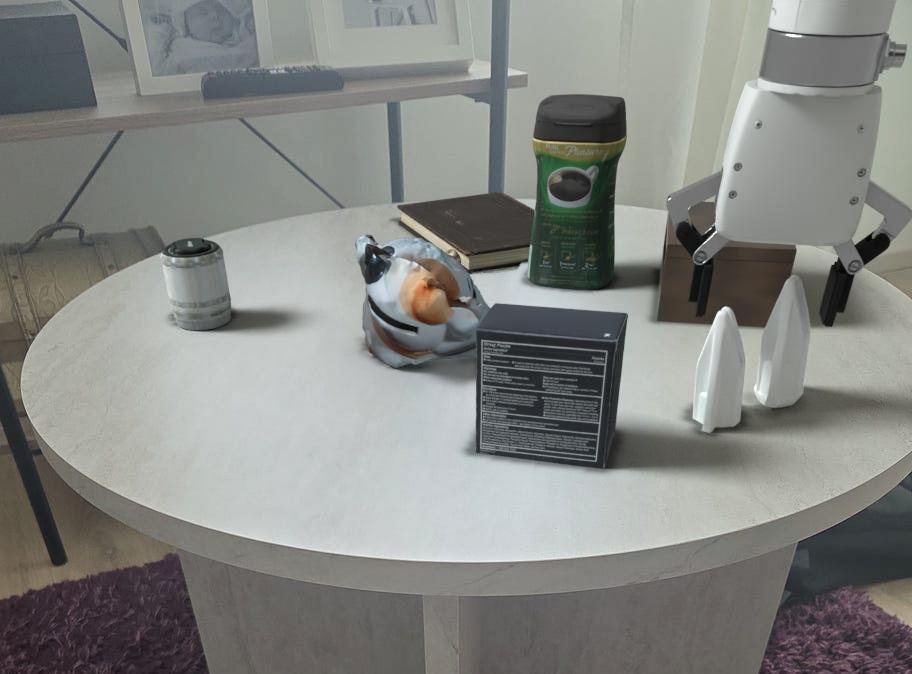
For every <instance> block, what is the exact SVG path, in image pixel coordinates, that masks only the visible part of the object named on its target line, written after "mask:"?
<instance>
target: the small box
mask: <svg viewBox="0 0 912 674" xmlns="http://www.w3.org/2000/svg"><path fill="white" fill-rule="evenodd" d="M490 308H491V309H490V310H489V311H488V313H487V314H486V315H485V317H484V318H483V320H482V321H481V322H480V324H479V325H478V327H477V328H476V343H477V345H476V354H477V356H476V361H475V363H476V364H475V365H476V366H475V369H476V372H475V445H474V453H475V454H481V455H488V456H496V457H503V458H513V459H519V460H528V461H534V462H535V461H536V462H543V463H550V464H551V463H553V464H559V465H567V466H576V467H585V468H593V469H601V470H603V469H606V468H608V459H609V457H610V452H611V450H612V446H613V443H614V440H615V436H616V428H617V427H616V426H617V418H618V407H619V399H620V391H621V390H620V388H621V381H622V372H623V363H624V362H623V361H624V353H625V343H626V335H627V326H628V319H629V314H628V313H627V312H619V311H616V312H615V311H605V310H604V311H603V310H593V309H592V310H590V309H580V308H579V309H578V308H577V309H576V308H565V307H564V308H563V307H553V306H552V307H551V306H540V305H539V306H538V305H526V304H525V305H524V304H511V303H497V302H495V303H494V304H493V305H492V306H491V307H490Z"/></svg>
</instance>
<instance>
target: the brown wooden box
mask: <svg viewBox="0 0 912 674" xmlns="http://www.w3.org/2000/svg"><path fill="white" fill-rule="evenodd" d="M714 202H715V201H703V202H700V203H698V204H696V205H694V206H692V207H690V208H689V210H688V214H689V218H690V221H691V222H692V224H693V225H694V226H695V228H696V229H697V230H698V232H699V233H700V234H701V235H702V234H703V233H704V232H705V231H706V230H707V229H708V228H709V227H710V226H711V225H712V224H713V223H714V222H715V220H716V219H714V216H713V210H714ZM664 231H665V232H664V239H663V247H662V254H661V261H660V269H659V279H658V280H659V281H658V294H657V295H658V296H657V307H656V308H657V309H656V310H657V311H656V322H661V323H662V322H663V323H665V322H666V323H678V324H679V323H682V324H696V325H697V324H698V325H712V324H713V322H714V319H715V317H716V315H717V313H718V311H721V309H722V308H723V307H730V308H731V309H732V310H733V312H734V315H735V318H736V321H737V325H738V327H752V328H765V327H766V325H767V322H768V320H769V318H770V315H771V313H772V311H773V308H774V306H775V304H776V302H777V300H778V297H779V295H780V293H781V291H782V289H783V286H784V284H785V282H786V280H787V279H789V278H790V277H791V276H792V275H793V269H794V265H795V260H796V256H797V251H798V249H797V245H789V244H771V243H755V242H741V241H733V240H730V241H729V242H728V243H727V244H725V245H724V246H723V247H722V248H721V249H720V250H719V251H718V252H717V253H716V254H715V255H714V256H713V263H714V270H713V276H712V281H711V286H710V292H709V297H708V302H707V307H706V313H705V316H702V318H699V317H695V303H692V302H688V295H689V289H690V283H691V277H692V271H693V266H694V261H693V258H692V257H691V256H690V254H689V253H688V252H687V250H686V249H685V248H684V246H683V245H682V244H681V243H680V241H679V240H678V239H677V237H676V233H675V230H674V227H673V224H672V221H671V218H670V215H669V212H668V211H667V218H666V224H665V230H664Z"/></svg>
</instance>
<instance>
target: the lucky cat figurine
mask: <svg viewBox="0 0 912 674" xmlns="http://www.w3.org/2000/svg"><path fill="white" fill-rule="evenodd" d="M354 247H355V249H356V260H357V263H358V266H359V267H360V271H361V275H362V277H363V279H364V283H365V298H364V301H363V304H362V318H361V319H362V330H363V331H364V342H365V346H366V348H367V351H368V353H369V354H371V355H373V356H374V357H376V358H377V359H379V360H380V361H382V362H383V363H385V364H386V365H388V366H390V367H393V368H394V369H398V368H399V369H400V368H402V367H405V366H408V365H411V364H413V365H419V364H422V363H424V362H427V361H437V360H438V361H440V360H441V361H442V360H453V359H454V360H455V359H464V358H465V359H468V358H475V357H476V356H477V354H476V345H477V343H476V328H477V327H478V325H479V324H480V322H481V321H482V320H483V318H484V317H485V315H486V314H487V313H488V311H489V310H490V309H491V307H490V306H489V305H488V304H487V302H486V301H485V298H484V297H483V295H482V293H481V291H480V289H479V288H478V286H477V285H476V284H475V283H474V280H473V278H472V276H471V274H470V273H468V272H467V271H466V270H465V268H464V267H463V266H462V265H461V258H460V255H459V254H458V252H457V251H456V250H454V249H450V250H448V251H446V252H444V251H443V250H442V249H439V248H438V247H437V246H435V245H434V244H431V243H430V242H426V241H424V240H423V239H421V238H418V237H398V238H394V239H392V240H389V241H387V242H386V243H385V244H383V245H382V244H379V243H378V242H377V241H376V240H375V238H374V236H373V235H372V234H368V233H366V234H364V235H361V236H360V237H359V238H357V239H356V240H355V241H354Z"/></svg>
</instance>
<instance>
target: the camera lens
mask: <svg viewBox="0 0 912 674" xmlns="http://www.w3.org/2000/svg"><path fill="white" fill-rule="evenodd" d="M159 257H160V262H161V268H162V271H163V277H164V281H165V282H164V283H165V286H166V290H167V296H168V299H169V305H170V308H171V311H172V314H173V317H174V319H175V320H176V323H177V325H178V327H180V328H182V329H185V330H189V331H206V330H213V329H216V328H220V327H223V326H224V325H226V324H228V323H229V322H230V321H231V319H232V314H231V311H232V297H231V293H230V287H229V281H228V274H227V268H226V263H225V262H226V261H225V257H224V250H223V248H222V247H221V246H220V245H219V243H217V242H216V241H213V240H209V239H207V238H205V239H204V238H203V237H189V238H188V237H187V238H181V239H177V240H174V241H173V242H172V243H170V244H168V245H166V246H164V248H163V249H162V250H161V253H160V256H159Z"/></svg>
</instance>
